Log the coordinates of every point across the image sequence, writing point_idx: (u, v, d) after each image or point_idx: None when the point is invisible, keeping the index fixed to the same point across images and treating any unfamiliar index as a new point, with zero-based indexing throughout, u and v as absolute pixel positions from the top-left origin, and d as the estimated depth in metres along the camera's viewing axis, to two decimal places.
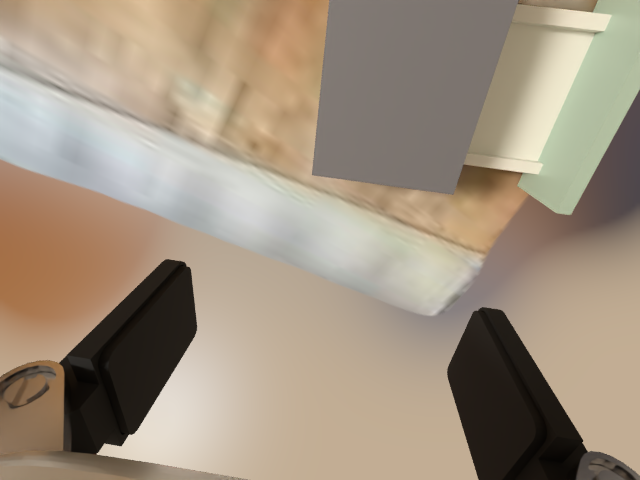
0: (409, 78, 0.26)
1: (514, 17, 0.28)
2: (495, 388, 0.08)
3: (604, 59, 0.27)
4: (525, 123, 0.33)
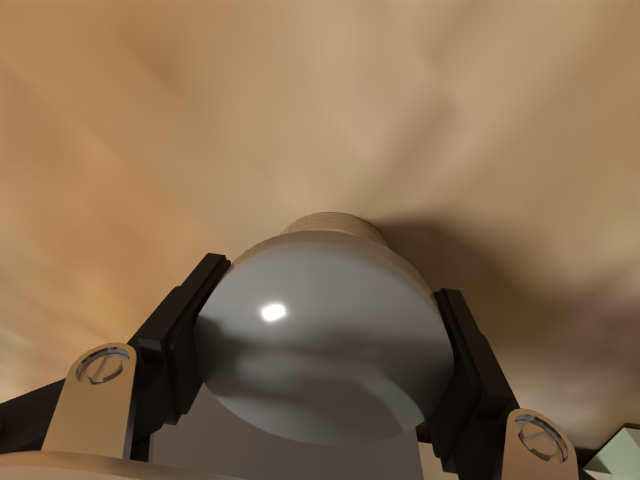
0: None
1: None
2: None
3: None
4: None
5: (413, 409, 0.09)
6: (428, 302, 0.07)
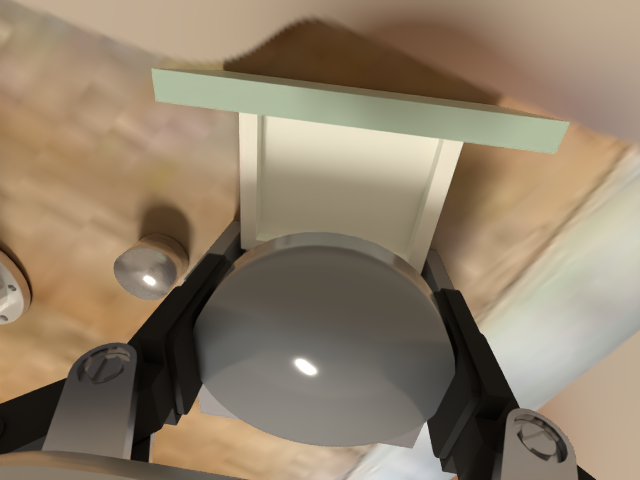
0: None
1: (253, 216, 0.23)
2: None
3: None
4: (378, 159, 0.22)
5: (413, 411, 0.09)
6: (429, 305, 0.07)
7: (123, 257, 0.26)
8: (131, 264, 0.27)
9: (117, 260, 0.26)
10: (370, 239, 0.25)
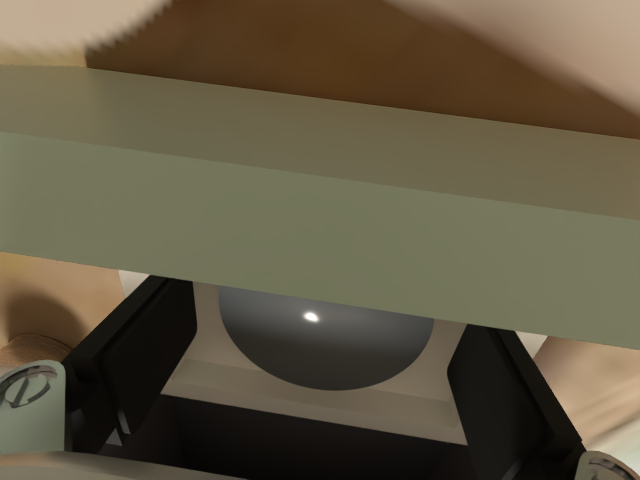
0: None
1: None
2: (494, 387, 0.08)
3: None
4: None
5: (402, 353, 0.10)
6: None
7: None
8: None
9: None
10: None
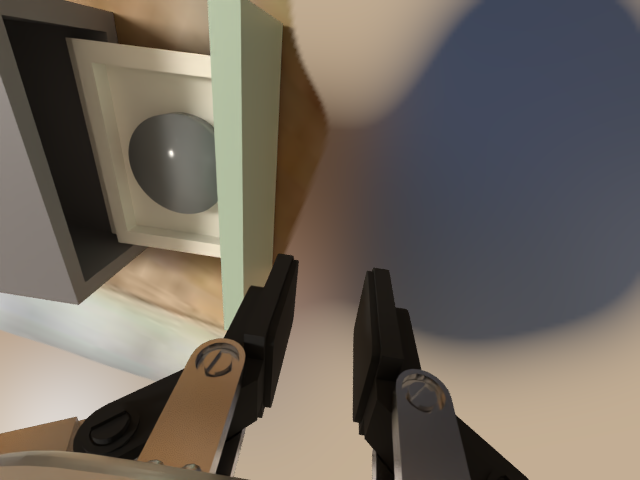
0: None
1: (120, 62, 0.19)
2: (365, 331, 0.09)
3: None
4: None
5: (168, 202, 0.23)
6: None
7: None
8: None
9: None
10: (140, 192, 0.25)
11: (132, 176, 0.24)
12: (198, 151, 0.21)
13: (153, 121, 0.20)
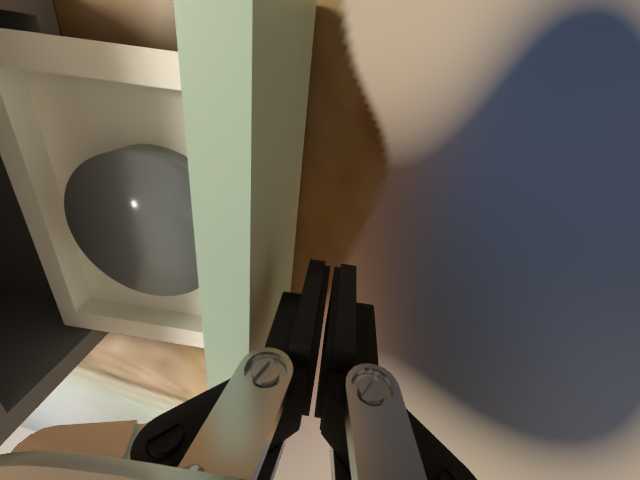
0: None
1: (39, 64, 0.11)
2: (327, 326, 0.09)
3: None
4: None
5: (128, 278, 0.15)
6: None
7: None
8: None
9: None
10: None
11: None
12: (178, 211, 0.13)
13: (104, 161, 0.12)
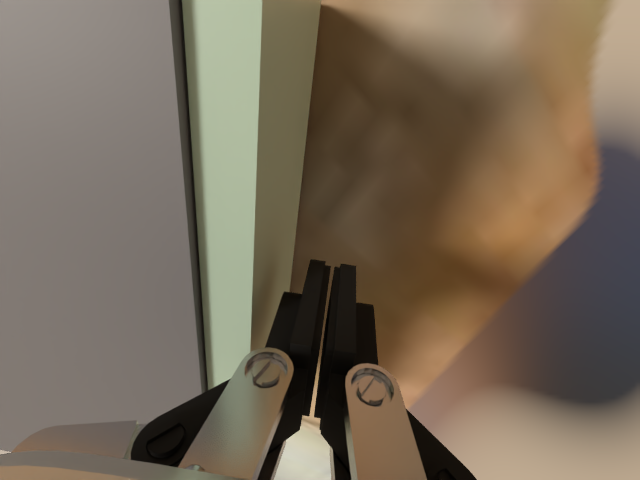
0: None
1: None
2: (327, 326, 0.09)
3: None
4: None
5: None
6: None
7: None
8: None
9: None
10: None
11: None
12: None
13: None
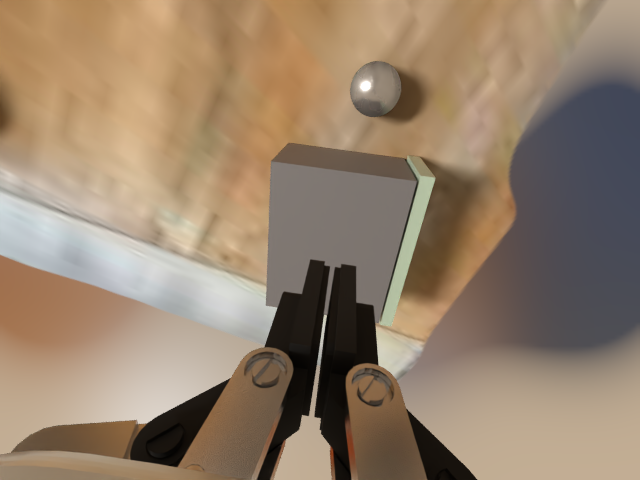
0: (335, 249, 0.34)
1: None
2: (327, 326, 0.09)
3: None
4: None
5: None
6: None
7: (396, 77, 0.30)
8: (388, 83, 0.31)
9: (393, 70, 0.30)
10: None
11: None
12: None
13: None
